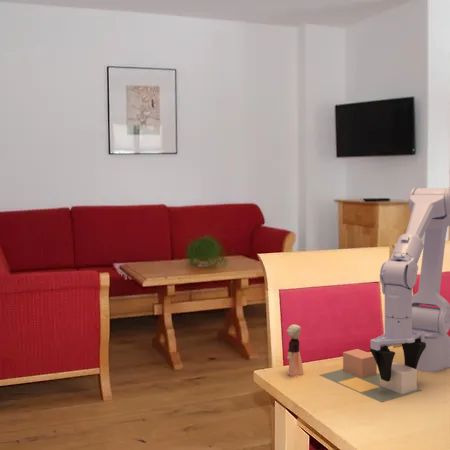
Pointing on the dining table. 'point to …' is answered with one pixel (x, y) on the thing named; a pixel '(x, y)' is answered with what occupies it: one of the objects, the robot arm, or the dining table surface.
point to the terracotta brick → (359, 363)
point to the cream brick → (401, 379)
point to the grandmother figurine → (294, 351)
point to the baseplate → (365, 385)
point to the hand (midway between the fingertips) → (398, 376)
